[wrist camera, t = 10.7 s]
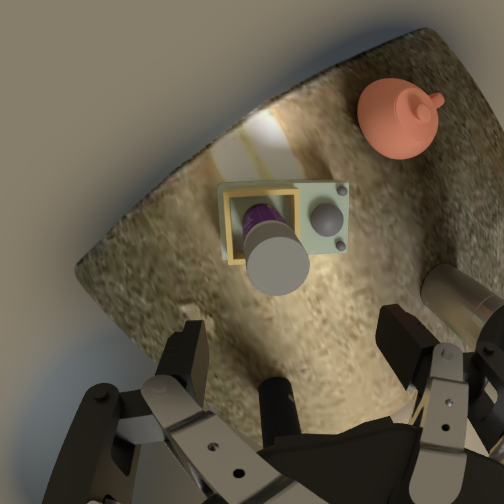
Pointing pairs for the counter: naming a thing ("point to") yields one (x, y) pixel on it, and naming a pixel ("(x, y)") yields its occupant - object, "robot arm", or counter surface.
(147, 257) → the counter surface
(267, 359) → the counter surface
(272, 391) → the wine bottle
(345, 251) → the grey-green box with tray
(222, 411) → the counter surface
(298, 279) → the container
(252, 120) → the counter surface
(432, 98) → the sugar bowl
